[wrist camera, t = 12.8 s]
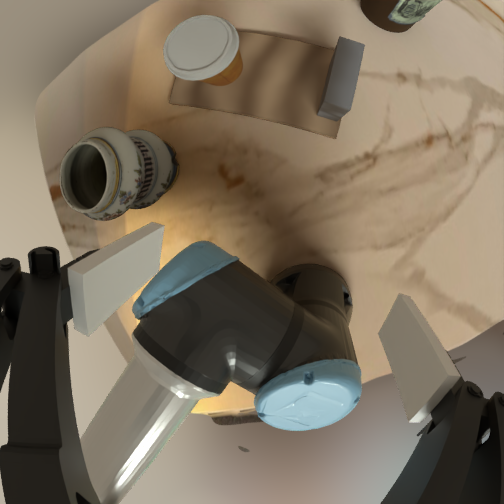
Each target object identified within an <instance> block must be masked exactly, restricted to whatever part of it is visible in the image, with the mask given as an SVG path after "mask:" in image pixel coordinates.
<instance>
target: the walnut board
mask: <svg viewBox="0 0 504 504" xmlns="http://www.w3.org/2000/svg"><path fill="white" fill-rule="evenodd" d="M237 33H238V36H239V50H240V54H241V58H242V62H243V70H242V72H241V74H240V76H239V77H238V78H237V79H236V80H235V81H234V82H232V83H230V84H228V85H225V86H214V85H211V84H208V83H204V82H201V81H198V80H195V81H192V80H184V79H181V78H179V77H177V76H176V79H175V82H174V86H173V90H172V93H171V97H170V101H169V103H170V104H175V105H183V106H191V107H199V108H206V109H212V110H218V111H224V112H230V113H235V114H240V115H245V116H250V117H255V118H259V119H264V120H268V121H272V122H276V123H281V124H284V125H288V126H292V127H296V128H300V129H303V130H307V131H310V132H313V133H317V134H320V135H323V136H327V137H330V138H333V139H336V137H337V133H338V130H339V126H340V122H341V118H342V117H343V116H344V115H345V114H346V113H347V112H349V111H350V110H351V106H352V102H353V97H354V93H355V89H356V84H357V80H358V75H359V71H360V66H361V61H362V56H363V51H364V46H365V45H364V44H361V43H359V42H356V41H353V40H350V39H346V38H343V37H339V40H338V42H337V45H336V48H335V50H331V49H328V48H324V47H321V46H317V45H313V44H309V43H305V42H300V41H296V40H291V39H286V38H281V37H276V36H270V35H263V34H257V33H249V32H240V31H237Z"/></svg>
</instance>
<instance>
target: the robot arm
mask: <svg viewBox="0 0 504 504" xmlns="http://www.w3.org/2000/svg"><path fill="white" fill-rule="evenodd" d="M163 233H164V225H161V224H157V223H154V222H151V223H149V224H147V225H145V226H143V227H141V228H139V229H138V230H136V231H134V232H132V233H130V234H128V235H126V236H124V237H122V238H120V239H118V240H116V241H115V242H113V243H111V244H109V245H107V246H105V247H104V248H102V249H97V250H93V251H89V252H87V253H85V254H84V255H82V257H81V256H80V257H78V258H76V260H73V261H71V262H69V263H68V264H66V265H64V266H62V267H61V268H60V257H59V251H58V250H57V249H56V248H53V247H47V246H45V247H38V248H35V249H33V250H31V251H30V252H29V253H28V259H29V268H30V273H25V272H21V267H20V261H19V260H17V259H14V258H3V259H2V260H0V391H1V388H2V385H3V382H4V379H5V377H6V374H7V371H8V369H9V366H10V364H11V369H10V379H9V393H8V443H7V444H6V445H3V446H1V448H0V472H1V479H2V486H3V492H4V497H5V502H6V504H119V503H120V501H121V500H122V499H123V498H124V497H125V495H126V494H127V493H128V492H129V490H130V489H131V488H132V487H133V486H134V485H135V483H136V482H137V481H138V479H139V478H140V477H141V476H142V475H143V473H144V472H145V471H146V470H147V468H148V467H149V466H150V465H151V463H152V462H153V461H154V460H155V458H156V457H157V456H158V454H159V453H160V452H161V451H162V449H163V448H164V447H165V445H166V444H167V443H168V441H169V440H170V439H171V437H172V436H173V435H174V433H175V432H176V431H177V429H178V428H179V427H180V425H181V424H182V423H183V421H184V420H185V419H186V417H187V416H188V415H189V413H190V412H191V411H192V409H193V408H194V406H195V405H196V404H197V402H198V401H199V400H200V399H202V398H209V397H215V396H219V395H220V394H221V393H222V392H223V390H224V389H225V388H226V386H227V385H228V383H229V382H230V381H232V382H234V383H236V384H237V385H239V386H241V387H243V388H244V389H246V390H248V391H250V392H251V393H253V394H255V395H256V396H255V398H254V405H255V408H256V411H257V412H258V416H259V417H260V418H261V420H263V421H264V422H265V423H267V424H269V425H271V426H273V427H276V428H279V429H284V430H292V431H304V430H310V429H317V428H321V427H324V426H327V425H330V424H332V423H334V422H336V421H338V420H340V419H342V418H343V417H345V416H346V415H347V414H349V413H350V412H351V411H352V410H353V409H354V407H355V406H356V405H357V403H358V401H359V399H360V395H361V391H362V385H361V369H360V367H359V365H358V362H357V358H356V354H355V350H354V346H353V342H352V338H351V334H350V330H349V327H348V326H349V322H350V319H351V315H352V309H353V305H352V297H351V294H350V291H349V289H348V286H347V284H346V283H345V281H344V280H343V279H342V277H341V276H340V275H338V274H337V273H336V272H335V271H333V270H331V269H329V268H327V267H324V266H321V265H316V264H302V265H297V266H293V267H291V268H288V269H286V270H284V271H283V272H281V273H280V274H278V275H277V276H276V277H275V278H274V279H273V280H272V281H271V283H269V282H268V281H266V280H265V279H264V278H262V277H261V276H259V275H258V274H257V273H255V272H254V271H253V270H251V269H250V268H248V267H247V266H246V265H244V264H243V263H242V262H240V261H239V258H238V257H237V256H232V255H230V254H229V253H227V252H226V251H224V250H223V249H221V248H220V247H218V246H217V245H215V244H214V243H212V242H209V241H198V242H195V243H193V244H191V245H189V246H188V247H186V248H185V249H183V250H182V251H181V252H180V253H178V254H177V255H176V256H175V257H174V258H173V259H172V260H170V261H169V262H168V263H167V264H166V265H165V266H164V267H163V268H162V269H161V270H160V271H159V265H160V257H161V248H162V240H163ZM155 274H156V275H155ZM154 275H155V277H154V278H153V279H152V280H151V281H150V282H149V283H148V285H147V286H146V287H145V288H144V290H143V291H142V293H141V295H140V296H139V297H138V299H137V300H136V301H135V303H134V305H133V307H132V312H133V313H134V315H135V318H137V319H138V320H140V323H139V324H138V326H137V327H136V329H135V330H134V331H133V333H132V340H133V345H134V349H135V355H134V356H133V358H132V359H131V361H130V362H129V364H128V365H127V367H126V368H125V370H124V372H123V373H122V374H121V376H120V377H119V379H118V380H117V382H116V384H115V385H114V387H113V388H112V390H111V391H110V393H109V394H108V396H107V397H106V399H105V401H104V402H103V404H102V405H101V407H100V409H99V410H98V412H97V413H96V415H95V417H94V418H93V420H92V421H91V423H90V424H89V426H88V428H87V429H86V431H85V433H84V434H83V436H82V438H81V439H80V438H79V434H78V428H77V424H76V417H75V411H74V404H73V397H72V389H71V379H70V366H69V347H68V325H67V322H68V321H69V320H70V319H72V318H73V322H74V328H75V330H77V331H79V332H81V333H83V334H84V335H86V336H90V335H91V334H92V333H93V332H94V331H95V330H96V329H97V328H98V327H99V326H100V325H101V324H102V323H103V322H105V321H106V320H107V319H108V318H109V317H110V316H111V315H112V314H113V313H114V312H115V311H116V310H117V309H118V308H119V307H120V306H121V305H123V304H124V303H125V302H126V301H127V300H128V299H129V298H130V297H131V296H132V295H133V294H134V293H136V292H137V291H138V290H139V289H140V288H141V287H142V286H143V285H144V284H145V283H147V282H148V281H149V280H150V279H151V278H152V277H153V276H154ZM2 309H3V311H2V312H1V310H2ZM378 334H379V337H380V339H381V342H382V345H383V347H384V350H385V353H386V355H387V358H388V361H389V364H390V366H391V369H392V372H393V375H394V378H395V381H396V384H397V386H398V390H399V393H400V396H401V399H402V402H403V405H404V409H405V412H406V415H407V419H408V422H422V421H423V420H424V419H425V418H426V417H427V416H428V415H429V414H430V413H431V416H432V420H431V421H430V422H429V423H428V424H427V425H426V426H425V427H424V428H423V429H422V430H421V431H420V432H419V433H418V434H417V436H419V435H420V434H422V436H421V438H420V440H419V443H418V444H417V446H416V448H415V450H414V452H413V454H412V455H411V457H410V459H409V461H408V462H407V464H406V466H405V467H404V469H403V471H402V473H401V474H400V476H399V477H398V479H397V480H396V482H395V484H394V485H393V487H392V488H391V489H390V491H389V492H388V494H387V495H386V497H385V498H384V499H383V501H382V502H381V504H504V394H502V393H501V392H495V393H494V395H493V396H492V397H491V398H490V399H486V398H484V397H483V393H482V391H481V389H480V388H479V387H478V386H477V385H476V384H474V383H472V382H470V381H466V382H465V381H464V380H463V378H462V376H461V374H460V373H459V371H458V369H457V368H456V366H455V365H454V362H453V360H451V357H450V355H449V354H448V352H447V351H446V350H445V349H444V347H443V345H442V344H441V342H440V341H439V339H438V337H437V336H436V334H435V333H434V331H433V330H432V328H431V327H430V325H429V324H428V322H427V321H426V319H425V318H424V316H423V315H422V313H421V312H420V310H419V309H418V307H417V306H416V304H415V303H414V302H413V300H412V299H411V297H410V296H407V295H404V294H400V293H399V294H398V296H397V298H396V300H395V303H394V305H393V307H392V309H391V310H390V312H389V314H388V316H387V318H386V320H385V322H384V324H383V326H382V328H381V329H380V331H379V333H378ZM489 432H490V436H489V438H488V439H487V440H486V441H485V442H484V443H483V444H482V439H483V438H484V437H485V436H486V435H487V434H488V433H489Z"/></svg>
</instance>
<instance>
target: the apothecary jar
mask: <svg viewBox="0 0 504 504" xmlns="http://www.w3.org/2000/svg"><path fill="white" fill-rule="evenodd" d="M175 156H176V152H175V150H174V149H173V147H172V146H171V145H170V144H169V143H167V142H166V141H164V140H161V139H160V138H159V137H158V136H156V135H155V134H153V133H151V132H149V131H146V130H132V131H128V132H126V133H124V132H123V131H121V130H119V129H116V128H112V127H102V128H98V129H95V130H93V131H91V132H89V133H87V134H86V135H85V136H84V137H82V138H81V139H80V141H79V142H78V143H76V144H75V145H74V146H72V147H71V148H70V149H69V150H68V151H67V153H66V154H65V156H64V158H63V160H62V163H61V167H60V176H59V180H60V188H61V192H62V195H63V197H64V199H65V201H66V202H67V204H68V205H69V206H70V207H71V208H72V209H74V210H75V211H77V212H80V213H84V214H85V215H86V216H88V217H90V218H92V219H95V220H100V221H107V220H112V219H115V218H117V217H119V216H121V215H122V214H124V213H125V212H126V211H127V210H128V209H129V208H130V209H142V208H146V207H148V206H150V205H152V204H154V203H155V202H156V201H157V200H159V199H160V197H161V196H162V195H163V194H164V193H166V192H167V191H169V190H170V189H171V188H172V186H173V185H174V183H175V181H176V179H177V176H178V172H179V164H178V163H177V161H176V159H175Z"/></svg>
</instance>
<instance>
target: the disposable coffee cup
mask: <svg viewBox="0 0 504 504" xmlns="http://www.w3.org/2000/svg"><path fill="white" fill-rule="evenodd" d="M163 54H164V59H165V63H166V66H167V67H168V69H169V70H170V71H171V73H172V74H174V75H175V76H177V77H179V78H181V79H184V80H192V81H195V80H198V81H201V82H204V83H208V84H211V85H214V86H225V85H228V84H230V83H232V82H234V81H235V80H236V79H237V78H238V77H239V76H240V74H241V72H242V70H243V62H242V58H241V54H240V50H239V36H238V33H237V31H236V29H235V27H234V26H233V25H232V24H231V23H230V22H229V21H227V20H225V19H223V18H220V17H216V16H212V15H199V16H195V17H191V18H188V19H187V20H185V21H183V22H181V23H180V24H179V25H177V26H176V27H175V28H174V29H173V30H172V31H171V33H170V34H169V35H168V37H167V39H166V41H165V44H164V49H163Z"/></svg>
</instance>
